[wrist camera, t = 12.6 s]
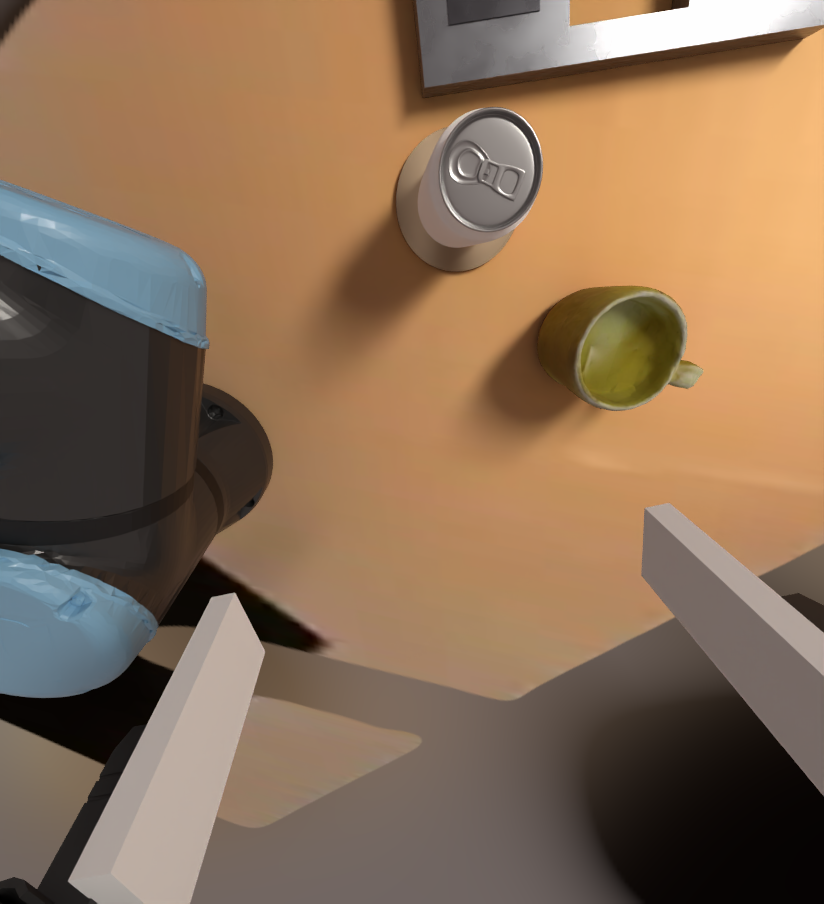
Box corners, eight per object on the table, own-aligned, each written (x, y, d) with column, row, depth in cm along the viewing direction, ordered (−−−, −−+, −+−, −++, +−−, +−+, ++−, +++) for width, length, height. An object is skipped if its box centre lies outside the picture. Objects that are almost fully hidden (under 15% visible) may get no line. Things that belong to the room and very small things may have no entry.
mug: (498, 372, 37) (580, 379, 28) (550, 268, 37) (650, 241, 28) (585, 427, 42) (677, 448, 33) (631, 337, 42) (737, 334, 33)
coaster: (405, 279, 35) (405, 279, 35) (386, 137, 31) (386, 136, 31) (521, 262, 35) (522, 261, 35) (517, 117, 31) (519, 115, 31)
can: (433, 139, 31) (457, 71, 20) (510, 173, 32) (573, 127, 21) (405, 231, 33) (413, 215, 23) (478, 260, 35) (519, 258, 24)
